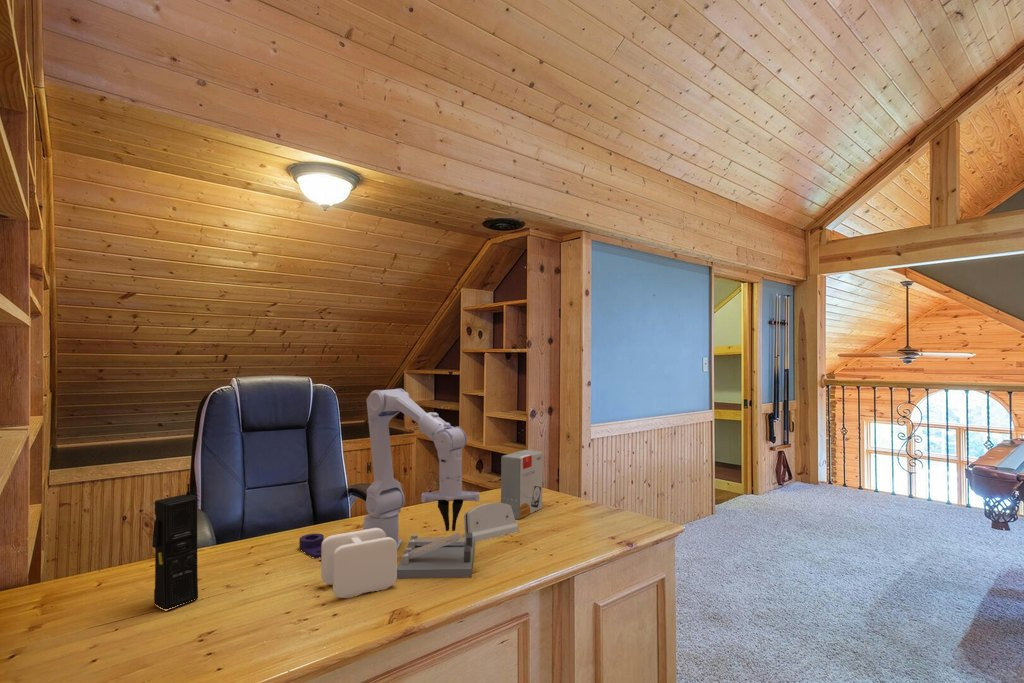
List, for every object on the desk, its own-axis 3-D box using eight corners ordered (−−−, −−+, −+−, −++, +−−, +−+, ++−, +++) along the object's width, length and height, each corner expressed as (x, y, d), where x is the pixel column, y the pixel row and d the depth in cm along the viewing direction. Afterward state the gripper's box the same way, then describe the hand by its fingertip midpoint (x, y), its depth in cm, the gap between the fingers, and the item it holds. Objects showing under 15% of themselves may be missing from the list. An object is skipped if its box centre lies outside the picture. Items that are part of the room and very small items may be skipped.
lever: (296, 547, 148) (296, 536, 148) (320, 543, 151) (320, 532, 151) (308, 561, 138) (308, 549, 138) (332, 556, 142) (332, 544, 142)
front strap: (404, 562, 131) (402, 556, 131) (406, 557, 134) (404, 552, 134) (459, 541, 132) (457, 535, 132) (460, 536, 135) (458, 531, 135)
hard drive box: (519, 520, 170) (519, 458, 171) (499, 516, 175) (499, 456, 175) (543, 508, 183) (543, 451, 184) (524, 505, 188) (524, 448, 188)
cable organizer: (330, 604, 114) (330, 550, 114) (320, 585, 123) (320, 535, 124) (397, 588, 122) (397, 537, 122) (383, 571, 131) (383, 524, 131)
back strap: (409, 546, 141) (409, 541, 141) (411, 542, 144) (411, 537, 144) (464, 546, 142) (464, 541, 142) (464, 542, 145) (465, 537, 145)
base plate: (396, 578, 127) (396, 559, 127) (410, 544, 149) (410, 528, 149) (471, 577, 127) (471, 558, 128) (474, 544, 149) (474, 527, 150)
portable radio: (160, 615, 109) (162, 494, 110) (147, 607, 113) (148, 490, 113) (200, 599, 116) (201, 485, 117) (185, 593, 119) (186, 482, 120)
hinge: (472, 543, 150) (466, 507, 153) (465, 544, 154) (459, 508, 157) (520, 531, 159) (514, 498, 162) (512, 533, 163) (506, 499, 166)
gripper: (419, 480, 129) (419, 535, 129) (478, 479, 130) (478, 534, 130) (423, 473, 137) (423, 526, 136) (479, 472, 137) (479, 525, 137)
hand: (450, 529), depth 133 cm, fingers closed
